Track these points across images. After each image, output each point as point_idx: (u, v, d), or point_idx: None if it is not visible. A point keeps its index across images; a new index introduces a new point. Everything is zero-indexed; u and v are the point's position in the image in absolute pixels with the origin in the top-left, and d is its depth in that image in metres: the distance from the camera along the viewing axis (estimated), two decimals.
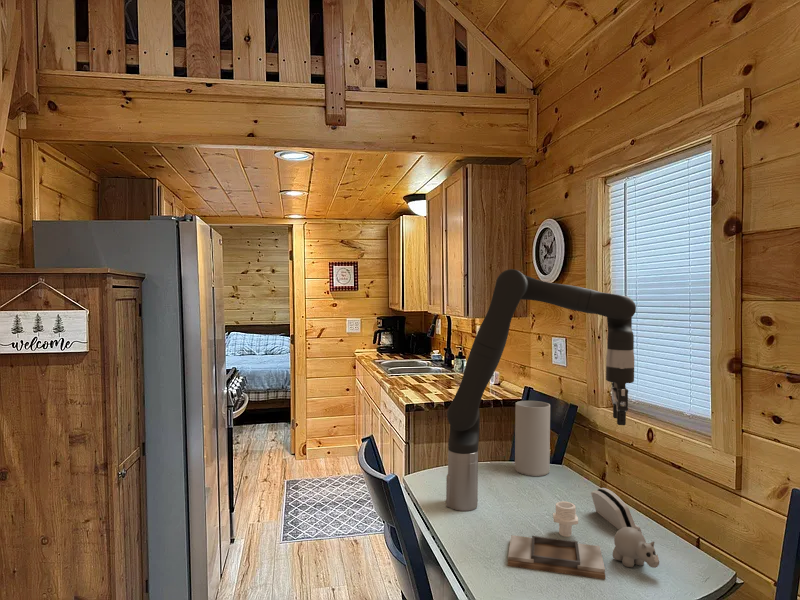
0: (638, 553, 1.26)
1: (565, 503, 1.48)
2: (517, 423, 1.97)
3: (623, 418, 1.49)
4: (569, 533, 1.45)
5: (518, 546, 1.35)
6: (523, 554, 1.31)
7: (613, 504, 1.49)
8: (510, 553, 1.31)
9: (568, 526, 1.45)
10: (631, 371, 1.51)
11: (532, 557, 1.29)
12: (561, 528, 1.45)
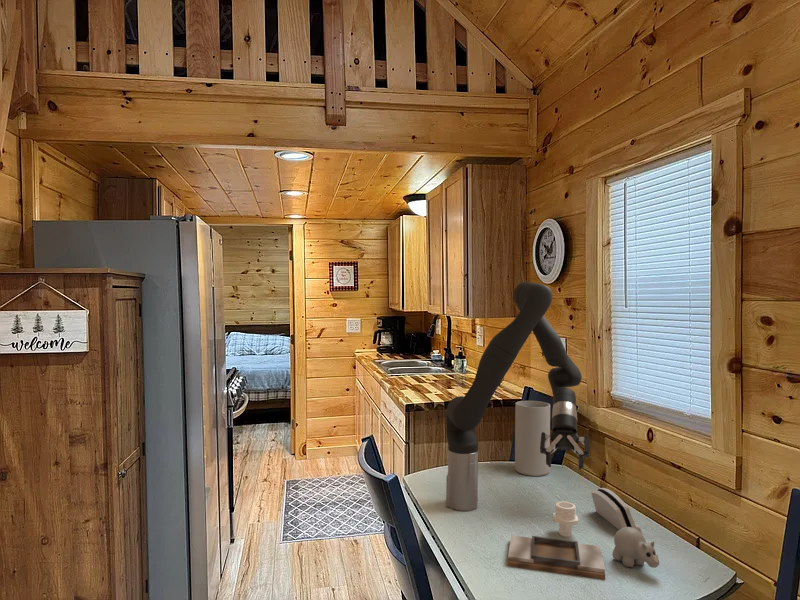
0: (638, 553, 1.26)
1: (565, 503, 1.48)
2: (517, 423, 1.97)
3: None
4: (569, 533, 1.45)
5: (518, 546, 1.35)
6: (523, 554, 1.31)
7: (613, 504, 1.49)
8: (510, 553, 1.31)
9: (568, 526, 1.45)
10: None
11: (532, 557, 1.29)
12: (561, 528, 1.45)
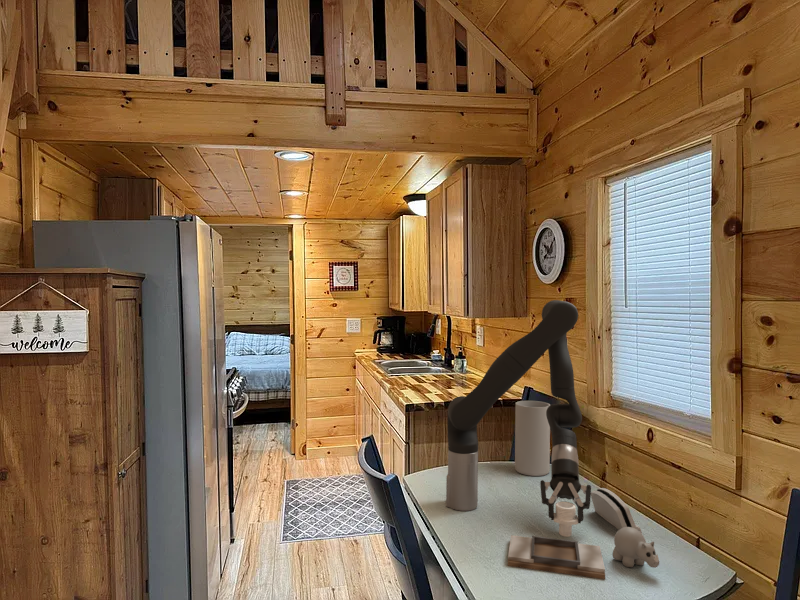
0: (638, 553, 1.26)
1: (565, 503, 1.48)
2: (517, 423, 1.97)
3: None
4: (569, 533, 1.45)
5: (518, 546, 1.35)
6: (523, 554, 1.31)
7: (613, 504, 1.49)
8: (510, 553, 1.31)
9: (568, 526, 1.45)
10: None
11: (532, 557, 1.29)
12: (561, 528, 1.45)
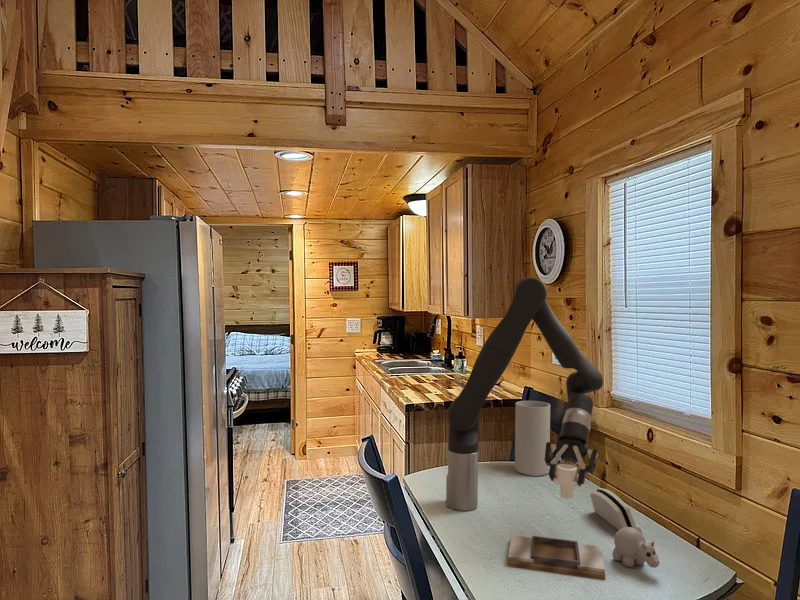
0: (638, 553, 1.26)
1: (568, 465, 1.45)
2: (517, 423, 1.97)
3: (584, 478, 1.41)
4: (569, 495, 1.42)
5: (518, 546, 1.35)
6: (523, 554, 1.31)
7: (614, 505, 1.48)
8: (510, 553, 1.31)
9: (568, 488, 1.41)
10: None
11: (532, 557, 1.29)
12: (561, 489, 1.43)
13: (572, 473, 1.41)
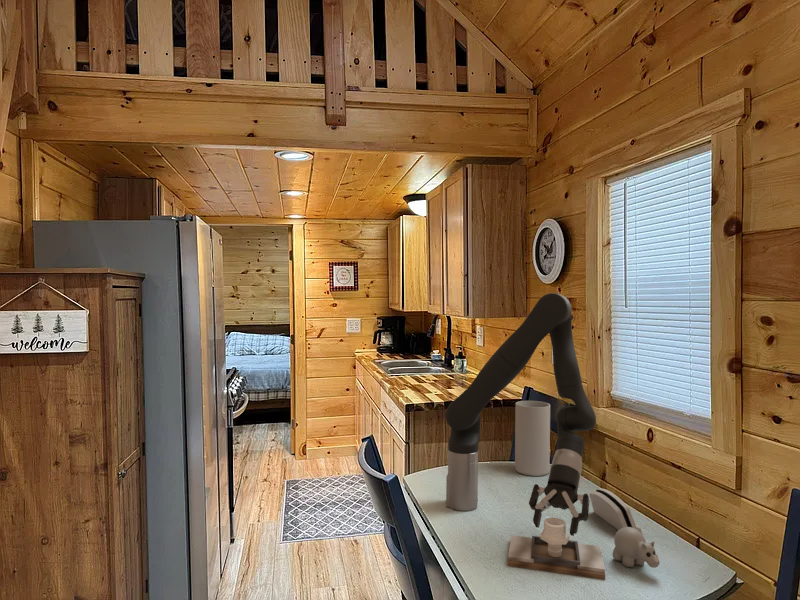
0: (638, 553, 1.26)
1: (557, 520, 1.34)
2: (517, 423, 1.97)
3: (577, 527, 1.31)
4: (557, 553, 1.31)
5: (518, 546, 1.35)
6: (523, 554, 1.31)
7: (614, 505, 1.48)
8: (510, 553, 1.31)
9: (556, 545, 1.31)
10: None
11: (532, 557, 1.29)
12: (549, 547, 1.32)
13: (560, 530, 1.30)
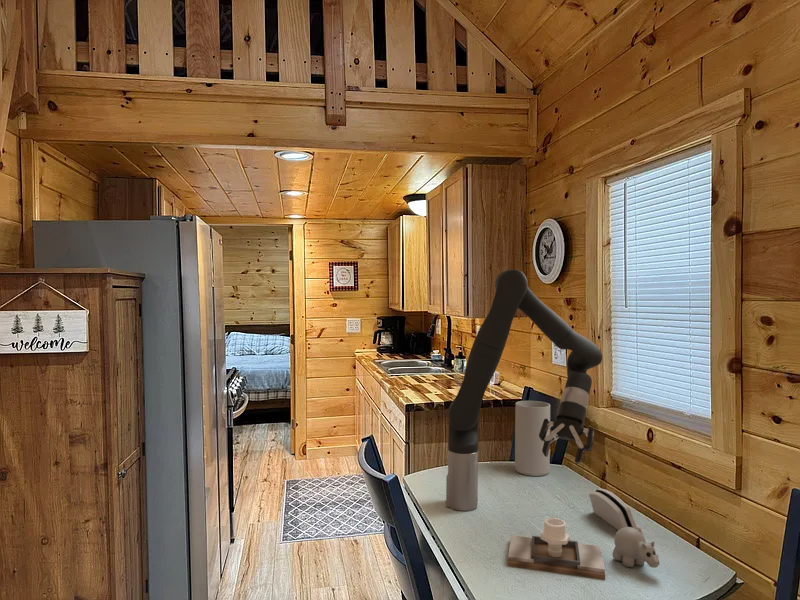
0: (638, 553, 1.26)
1: (557, 520, 1.34)
2: (517, 423, 1.97)
3: (582, 457, 1.45)
4: (557, 553, 1.31)
5: (518, 546, 1.35)
6: (523, 554, 1.31)
7: (614, 505, 1.48)
8: (510, 553, 1.31)
9: (556, 546, 1.31)
10: None
11: (532, 557, 1.29)
12: (549, 547, 1.32)
13: (560, 530, 1.30)
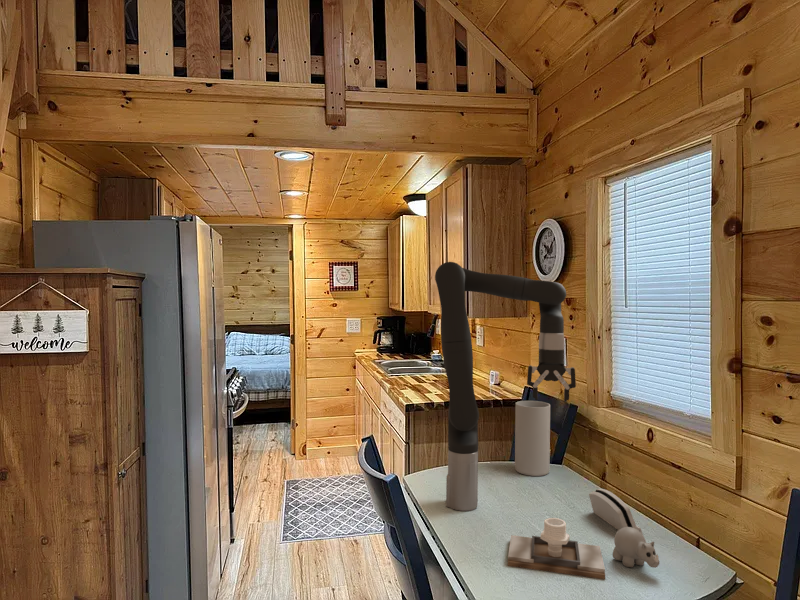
0: (638, 553, 1.26)
1: (557, 520, 1.34)
2: (517, 423, 1.97)
3: None
4: (557, 553, 1.31)
5: (518, 546, 1.35)
6: (523, 554, 1.31)
7: (614, 505, 1.48)
8: (510, 553, 1.31)
9: (556, 545, 1.31)
10: None
11: (532, 557, 1.29)
12: (549, 547, 1.32)
13: (560, 530, 1.30)
